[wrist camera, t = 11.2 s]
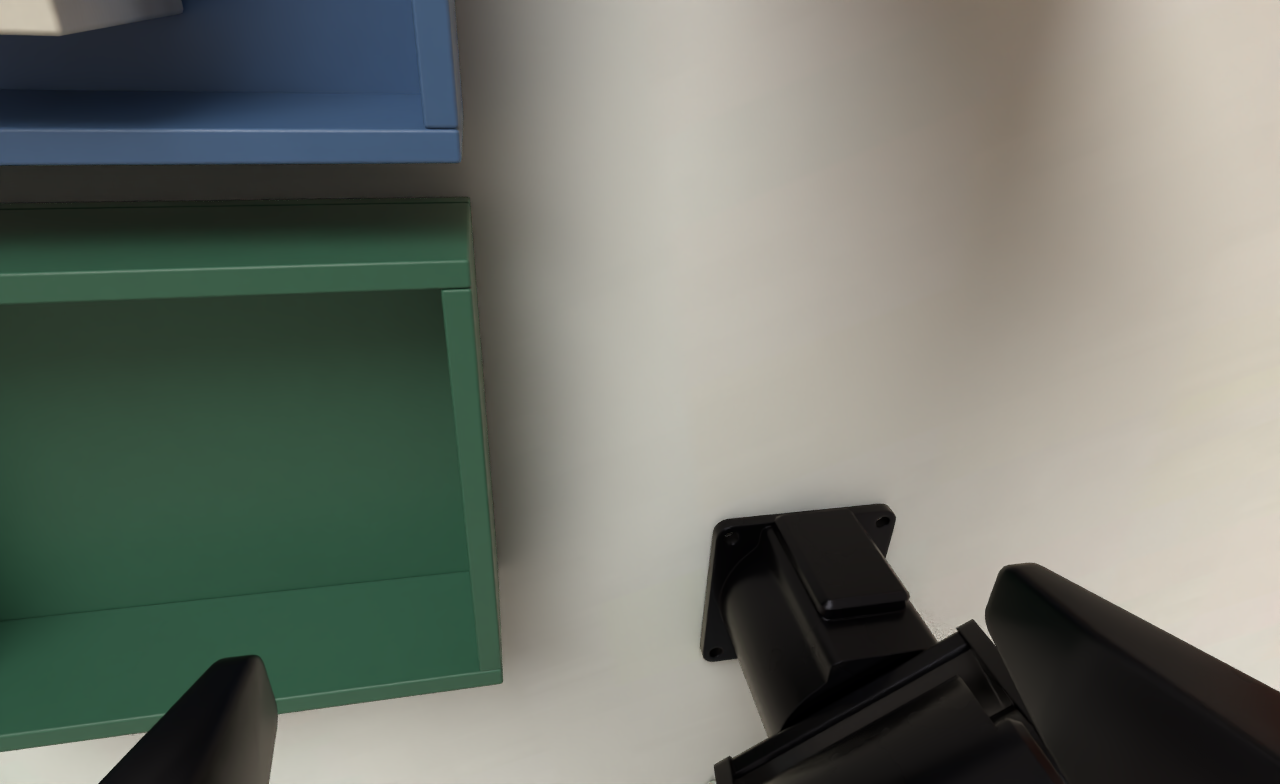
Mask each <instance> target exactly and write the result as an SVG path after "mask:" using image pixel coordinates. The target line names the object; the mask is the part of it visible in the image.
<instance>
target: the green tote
mask: <svg viewBox="0 0 1280 784" xmlns="http://www.w3.org/2000/svg"><path fill="white" fill-rule="evenodd" d="M252 654H254V655H258V656H260V657H261V659H262V660H263V662H264V664H265V668H266V671H267V674H268V677H269V680H270V684H271V687H272V690H273V693H274V696H275V700H276V703H277V710H278V714H283V713H291V712H298V711H305V710H313V709H320V708H327V707H335V706H342V705H349V704H357V703H364V702H371V701H379V700H386V699H393V698H401V697H408V696H415V695H423V694H430V693H437V692H445V691H452V690H459V689H467V688H474V687H481V686H489V685H496V684H501V683H502V682H503V666H502V644H501V622H500V600H499V579H498V562H497V549H496V535H495V522H494V509H493V496H492V483H491V470H490V456H489V443H488V430H487V417H486V404H485V391H484V378H483V364H482V351H481V338H480V325H479V312H478V299H477V286H476V272H475V259H474V246H473V233H472V220H471V207H470V199H469V198H468V197H437V198H364V199H291V200H218V201H146V202H73V203H0V752H5V751H12V750H19V749H27V748H34V747H41V746H49V745H56V744H63V743H71V742H78V741H85V740H93V739H100V738H107V737H115V736H122V735H129V734H137V733H144V732H148V731H149V730H150V729H151V728H152V727H153V726H154V725H155V724H156V723H157V722H158V721H159V719H160V718H161V717H162V716H163V715H164V714H165V713H166V712H167V711H168V710H169V709H170V708H171V707H172V706H173V705H174V704H175V703H176V702H177V701H178V700H179V698H180V697H181V696H182V695H183V694H184V693H185V692H186V691H187V690H188V689H189V688H190V687H191V686H192V685H193V684H194V683H195V682H196V681H197V680H198V679H199V677H200V676H201V675H202V674H203V673H204V672H205V671H206V670H207V669H208V668H209V667H210V666H211V665H212V664H213V663H214V662H216V661H217V660H219V659H221V658H226V657H235V656H243V655H252Z"/></svg>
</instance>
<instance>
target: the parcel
mask: <svg viewBox="0 0 1280 784" xmlns="http://www.w3.org/2000/svg"><path fill="white" fill-rule="evenodd" d="M181 13H183V5H182V1H181V0H0V35H32V36H63V35H68V34H73V33H79V32H84V31H90V30H95V29H101V28H106V27H112V26H117V25H123V24H128V23H133V22H139V21H144V20H150V19H155V18H161V17H166V16H172V15H177V14H181Z"/></svg>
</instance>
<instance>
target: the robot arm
mask: <svg viewBox="0 0 1280 784" xmlns="http://www.w3.org/2000/svg"><path fill="white" fill-rule="evenodd" d="M881 517H882V518H881ZM879 518H881V519H879ZM878 519H879V520H878ZM895 521H896V516H895V515H894V513H893V512H892V510H891V509H890V508H889V506H887V505H885V504H872V505H862V506H852V507H842V508H832V509H823V510H813V511H803V512H793V513H783V514H773V515H763V516H753V517H743V518H733V519H727V520H723V521H721V522H720V523H718V524H717V525H716V526H715V528H714V530H713V536H712V545H711V554H710V562H709V571H708V580H707V588H706V597H705V606H704V615H703V623H702V632H701V641H700V649H701V652H702V655H703V658H704V659H705V660H707V661H710V662H715V661H722V660H730V659H737V658H738V660H739V663H740V666H741V668H742V671H743V673H744V676H745V679H746V681H747V684H748V686H749V689H750V692H751V694H752V697H753V700H754V702H755V705H756V707H757V710H758V713H759V715H760V718H761V720H762V723H763V726H764V728H765V731H766V733H767V736H768V738H767V739H765V740H764V741H762V742H760V743H758V744H757V745H755V746H753V747H751V748H749V749H748V750H746V751H744V752H742V753H741V754H739V755H737V756H735V757H733V758H732V757H731V756H729V757H727V758H725V759H723V760H721V761H720V762H718V763H716V764H715V765H714V771H715V778H716V784H1280V692H1279V691H1277V690H1275V689H1273V688H1271V687H1269V686H1267V685H1266V684H1264V683H1262V682H1260V681H1258V680H1256V679H1254V678H1252V677H1250V676H1249V675H1247V674H1245V673H1243V672H1241V671H1239V670H1237V669H1235V668H1234V667H1232V666H1230V665H1228V664H1226V663H1224V662H1222V661H1220V660H1218V659H1217V658H1215V657H1213V656H1211V655H1209V654H1207V653H1205V652H1203V651H1201V650H1200V649H1198V648H1196V647H1194V646H1192V645H1190V644H1188V643H1186V642H1184V641H1183V640H1181V639H1179V638H1177V637H1175V636H1173V635H1171V634H1169V633H1167V632H1166V631H1164V630H1162V629H1160V628H1158V627H1156V626H1154V625H1152V624H1151V623H1149V622H1147V621H1145V620H1143V619H1141V618H1139V617H1137V616H1135V615H1134V614H1132V613H1130V612H1128V611H1126V610H1124V609H1122V608H1120V607H1118V606H1117V605H1115V604H1113V603H1111V602H1109V601H1107V600H1105V599H1103V598H1101V597H1100V596H1098V595H1096V594H1094V593H1092V592H1090V591H1088V590H1086V589H1085V588H1083V587H1081V586H1079V585H1077V584H1075V583H1073V582H1071V581H1069V580H1068V579H1066V578H1064V577H1062V576H1060V575H1058V574H1056V573H1054V572H1052V571H1051V570H1049V569H1047V568H1045V567H1043V566H1041V565H1039V564H1036V563H1021V564H1012V565H1007V566H1004V567H1003V568H1002V569H1001V570H1000V571H999V573H998V576H997V579H996V581H995V584H994V587H993V590H992V593H991V595H990V598H989V601H988V604H987V606H986V610H985V620H986V625H987V628H988V631H989V633H990V635H991V637H992V639H993V641H994V643H995V645H996V646H995V645H994V644H993V642H992V641H991V640H990V639H989V638H988V636H987V635H986V634H985V633H984V632H983V631H982V629H981V628H980V627H979V626H978V625H977V623H976V622H975V621H974V620H973V619H972V620H970V621H968V622H966V623H965V624H963V625H961V626H959V627H957V628H956V629H957V632H956V633H954V634H952V635H950V636H948V637H947V638H945V639H943V640H941V641H940V642H938V641H937V640H936V638H935V637H934V635H933V634H932V633H931V631H930V630H929V628H928V627H927V625H926V624H925V622H924V621H923V619H922V618H921V617H920V615H919V614H918V612H917V611H916V609H915V608H914V606H913V605H912V603H911V602H910V600H909V598H910V595H909V592H908V591H907V589H906V588H905V586H904V585H903V584H902V582H901V581H900V579H899V578H898V576H897V575H896V573H895V572H894V571H893V569H892V568H891V566H890V565H889V563H888V562H887V560H886V559H885V558H886V554H887V551H888V547H889V543H890V540H891V536H892V532H893V529H894V525H895ZM731 532H733V533H732V534H731V535H729V536H725V535H727V534H728V533H731ZM277 722H278V710H277V703H276V700H275V696H274V693H273V690H272V687H271V684H270V680H269V677H268V674H267V671H266V668H265V664H264V662H263V660H262V659H261V657H260V656H258V655H254V654H252V655H243V656H235V657H226V658H221V659H219V660H217V661H216V662H214V663H213V664H212V665H211V666H210V667H209V668H208V669H207V670H206V671H205V672H204V673H203V674H202V675H201V676H200V677H199V679H198V680H197V681H196V682H195V683H194V684H193V685H192V686H191V687H190V688H189V689H188V690H187V691H186V692H185V693H184V694H183V695H182V696H181V697H180V698H179V700H178V701H177V702H176V703H175V704H174V705H173V706H172V707H171V708H170V709H169V710H168V711H167V712H166V713H165V714H164V715H163V716H162V717H161V718H160V719H159V721H158V722H157V723H156V724H155V725H154V726H153V727H152V728H151V729H150V730H149V731H148V732H147V733H146V734H145V735H144V736H143V737H142V738H141V739H140V740H139V742H138V743H137V744H136V745H135V746H134V747H133V748H132V749H131V750H130V751H129V752H128V753H127V754H126V755H125V756H124V757H123V758H122V759H121V760H120V761H119V763H118V764H117V765H116V766H115V767H114V768H113V769H112V770H111V771H110V772H109V773H108V774H107V775H106V776H105V777H104V778H103V779H102V780H101V781H100V782H99V784H269V779H270V772H271V765H272V758H273V751H274V744H275V737H276V731H277Z"/></svg>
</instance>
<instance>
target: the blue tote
mask: <svg viewBox="0 0 1280 784" xmlns="http://www.w3.org/2000/svg"><path fill="white" fill-rule="evenodd" d="M181 1H182V5H183V13H181V14H177V15H172V16H166V17H161V18H155V19H150V20H144V21H139V22H133V23H128V24H123V25H117V26H112V27H106V28H101V29H95V30H90V31H84V32H79V33H73V34H68V35H63V36H32V35H0V166H20V165H209V164H399V163H459V162H461V159H462V141H463V119H464V115H463V101H462V88H461V75H460V62H459V49H458V36H457V23H456V9H455V0H181Z"/></svg>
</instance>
